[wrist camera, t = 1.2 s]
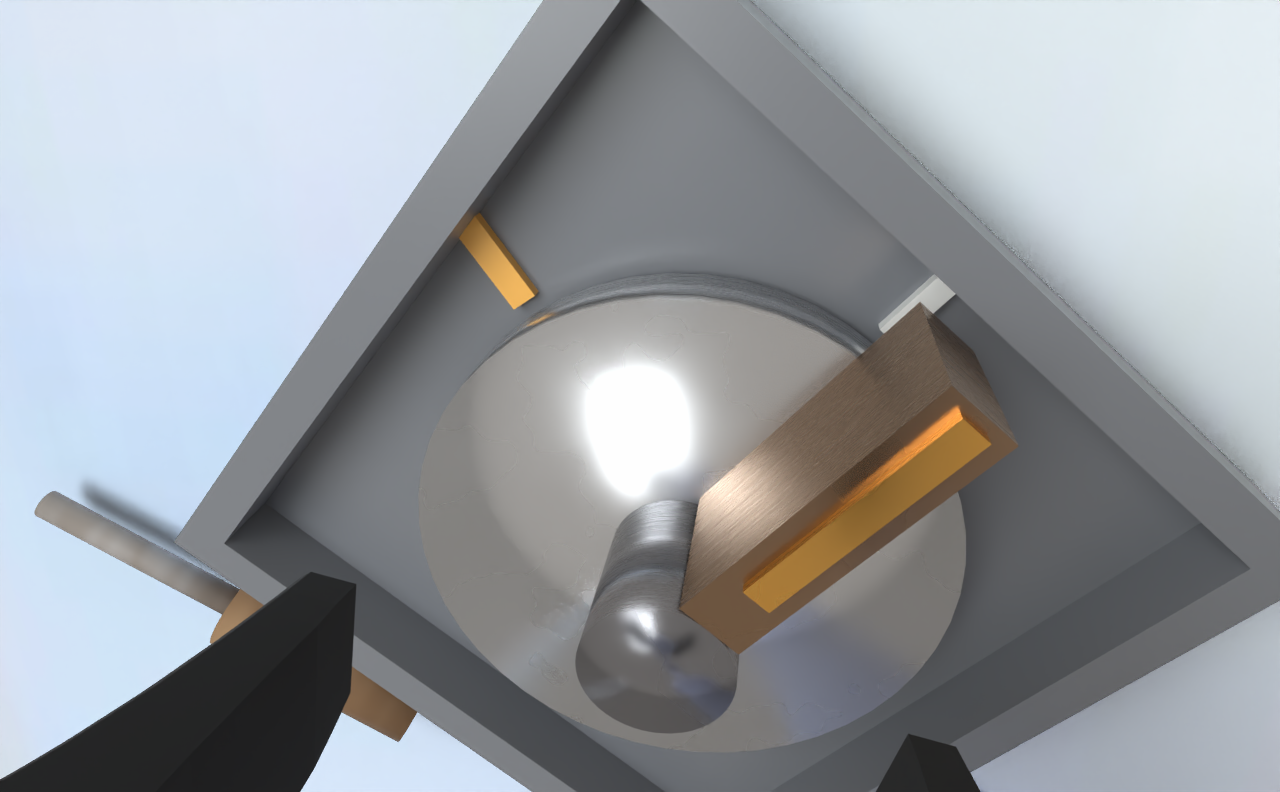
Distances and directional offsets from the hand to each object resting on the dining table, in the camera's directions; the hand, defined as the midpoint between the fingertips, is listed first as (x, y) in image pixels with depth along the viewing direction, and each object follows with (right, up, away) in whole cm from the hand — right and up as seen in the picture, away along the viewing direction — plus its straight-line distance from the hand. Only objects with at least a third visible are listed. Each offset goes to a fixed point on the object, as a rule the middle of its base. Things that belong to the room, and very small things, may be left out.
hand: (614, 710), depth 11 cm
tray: (+2, +2, +10) cm, 11 cm away
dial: (+2, +2, +9) cm, 9 cm away
